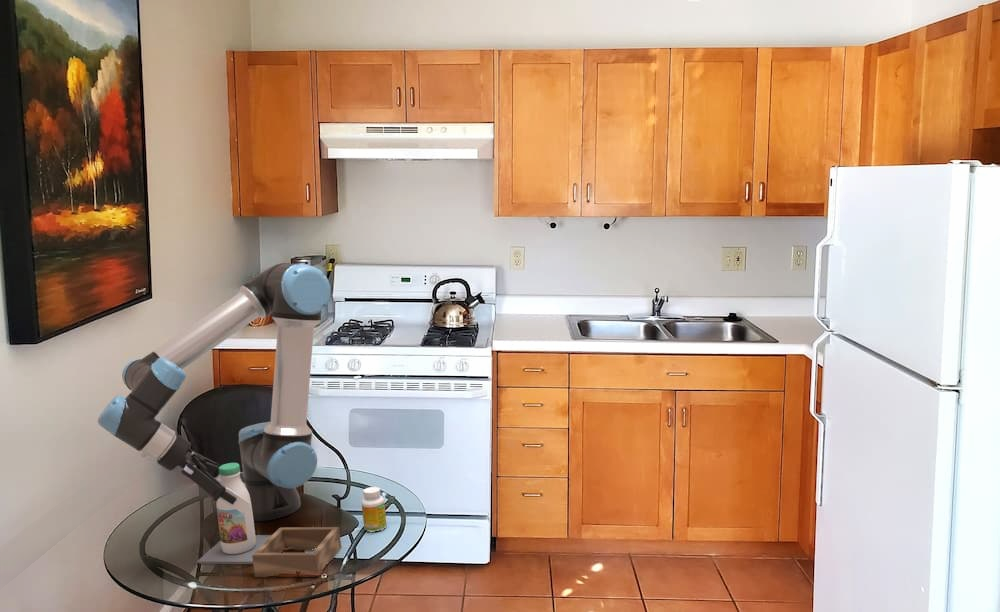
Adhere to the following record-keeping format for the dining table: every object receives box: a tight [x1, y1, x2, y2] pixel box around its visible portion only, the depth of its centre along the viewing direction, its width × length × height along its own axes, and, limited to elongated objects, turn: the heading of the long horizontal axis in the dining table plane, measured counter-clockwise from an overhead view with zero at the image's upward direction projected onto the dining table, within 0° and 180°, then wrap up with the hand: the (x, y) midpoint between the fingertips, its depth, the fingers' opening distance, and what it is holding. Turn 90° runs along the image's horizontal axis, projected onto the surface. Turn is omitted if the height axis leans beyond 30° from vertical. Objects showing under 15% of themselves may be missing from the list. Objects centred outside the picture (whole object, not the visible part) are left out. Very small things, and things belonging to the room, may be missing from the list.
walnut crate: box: [252, 526, 342, 578], centre depth 188 cm, size 14×14×5 cm
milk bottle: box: [215, 462, 256, 554], centre depth 195 cm, size 8×8×20 cm
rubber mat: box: [196, 534, 273, 565], centre depth 197 cm, size 14×14×1 cm
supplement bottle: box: [361, 486, 387, 533], centre depth 203 cm, size 5×5×10 cm
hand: (244, 498), depth 196 cm, fingers open, 13 cm apart
